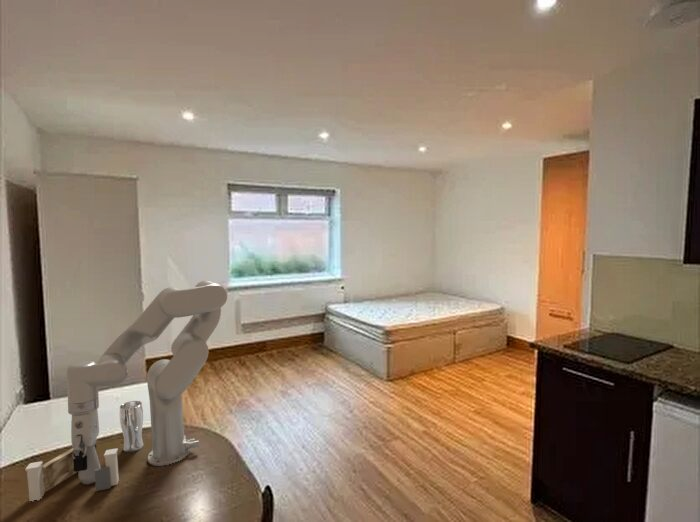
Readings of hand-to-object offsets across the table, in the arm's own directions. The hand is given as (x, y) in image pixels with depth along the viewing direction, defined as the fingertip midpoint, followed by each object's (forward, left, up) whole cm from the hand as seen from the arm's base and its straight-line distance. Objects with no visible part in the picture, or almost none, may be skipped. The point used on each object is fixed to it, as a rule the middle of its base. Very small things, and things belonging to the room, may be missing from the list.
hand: (85, 461), depth 120 cm
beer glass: (-10, -16, -6) cm, 20 cm away
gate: (+5, -4, -5) cm, 9 cm away
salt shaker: (-1, 0, -6) cm, 6 cm away
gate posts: (+2, +4, -6) cm, 8 cm away
